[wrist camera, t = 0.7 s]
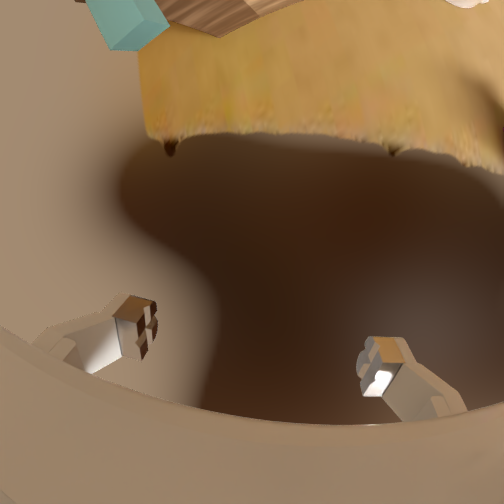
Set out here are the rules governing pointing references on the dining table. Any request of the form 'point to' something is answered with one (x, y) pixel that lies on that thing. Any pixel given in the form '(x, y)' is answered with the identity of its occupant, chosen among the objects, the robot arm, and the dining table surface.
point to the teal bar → (128, 22)
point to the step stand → (217, 13)
